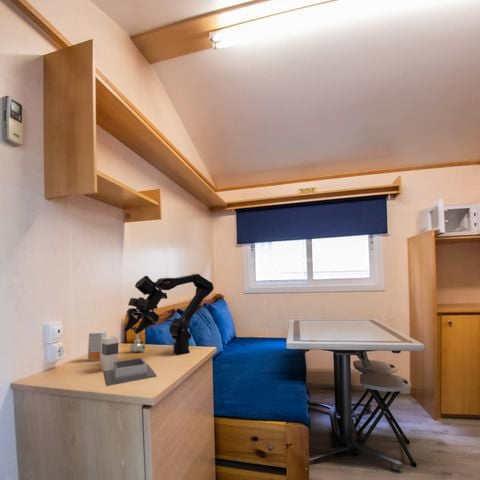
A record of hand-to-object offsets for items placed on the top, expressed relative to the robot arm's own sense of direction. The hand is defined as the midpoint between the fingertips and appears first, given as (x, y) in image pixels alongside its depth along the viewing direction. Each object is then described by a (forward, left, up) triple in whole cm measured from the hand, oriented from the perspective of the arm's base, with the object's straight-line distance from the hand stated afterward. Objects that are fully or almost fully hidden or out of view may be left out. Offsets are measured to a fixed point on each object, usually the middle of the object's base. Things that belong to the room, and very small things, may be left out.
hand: (130, 332), depth 119 cm
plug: (+8, +1, -13) cm, 15 cm away
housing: (+2, +13, -13) cm, 18 cm away
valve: (-6, -22, -13) cm, 27 cm away
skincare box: (+12, -18, -13) cm, 25 cm away
